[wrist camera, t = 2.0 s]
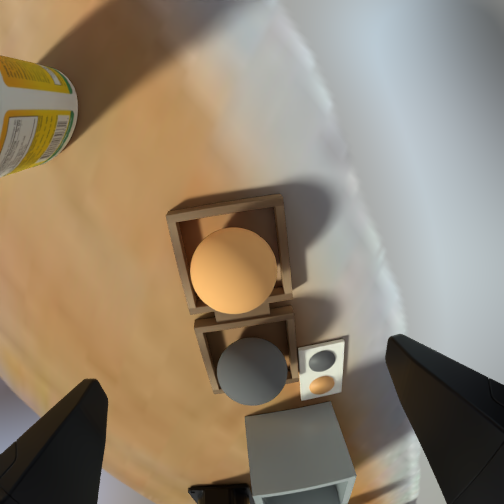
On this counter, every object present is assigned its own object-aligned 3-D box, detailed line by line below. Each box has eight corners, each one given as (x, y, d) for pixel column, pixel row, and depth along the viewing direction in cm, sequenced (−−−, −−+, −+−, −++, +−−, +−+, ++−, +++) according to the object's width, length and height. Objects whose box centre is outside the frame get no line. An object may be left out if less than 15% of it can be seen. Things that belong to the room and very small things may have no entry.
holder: (296, 373, 20) (298, 381, 20) (214, 385, 20) (214, 394, 20) (280, 193, 16) (282, 197, 15) (168, 211, 16) (165, 215, 15)
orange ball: (274, 281, 18) (287, 323, 14) (202, 292, 17) (197, 337, 14) (266, 211, 16) (278, 238, 12) (187, 223, 16) (176, 255, 12)
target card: (340, 389, 22) (341, 393, 21) (300, 397, 21) (301, 401, 21) (342, 338, 20) (344, 342, 19) (297, 347, 20) (299, 351, 19)
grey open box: (327, 444, 25) (346, 507, 18) (255, 457, 24) (263, 523, 18) (330, 401, 22) (356, 475, 16) (244, 416, 22) (252, 496, 15)
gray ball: (283, 367, 20) (294, 412, 16) (223, 376, 20) (224, 423, 16) (278, 318, 19) (291, 364, 15) (211, 329, 18) (209, 376, 15)
